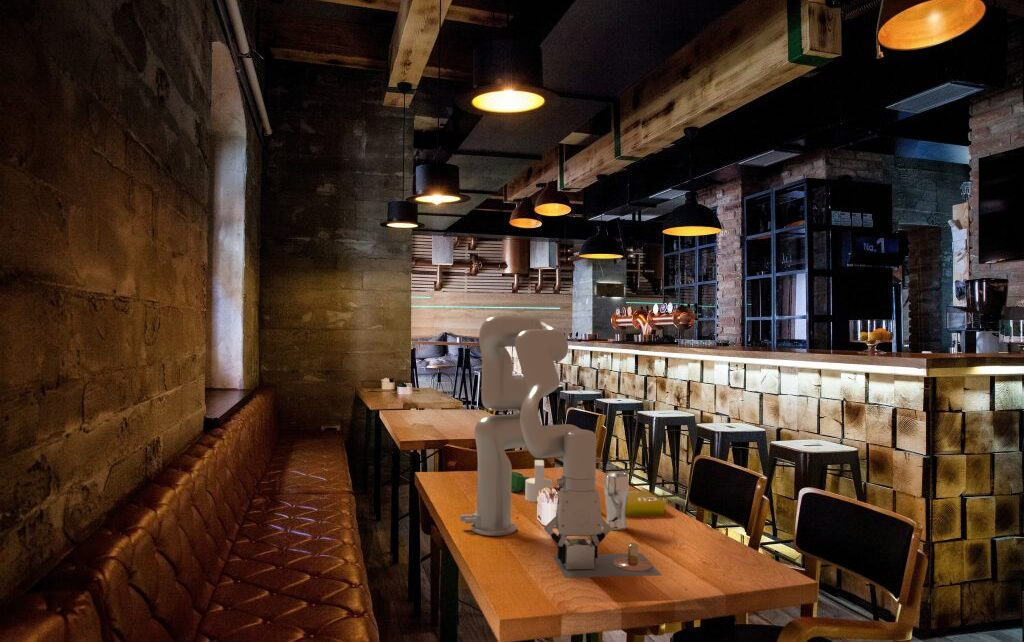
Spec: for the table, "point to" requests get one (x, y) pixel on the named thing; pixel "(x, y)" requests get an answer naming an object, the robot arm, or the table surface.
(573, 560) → the steel collar
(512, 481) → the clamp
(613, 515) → the beer glass
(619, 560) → the peg on flat base
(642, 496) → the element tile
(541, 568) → the table surface
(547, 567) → the table surface
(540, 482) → the cylinder with rectangular tab
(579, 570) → the stand board
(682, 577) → the table surface
